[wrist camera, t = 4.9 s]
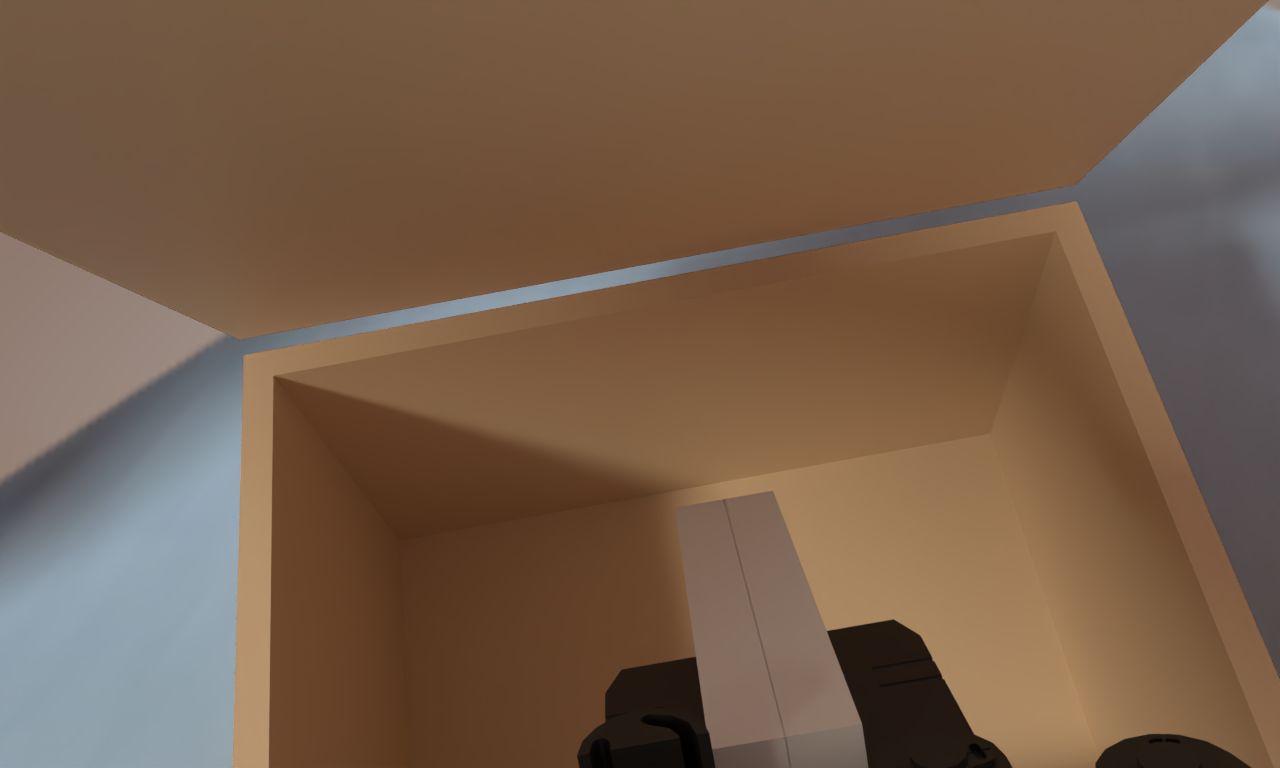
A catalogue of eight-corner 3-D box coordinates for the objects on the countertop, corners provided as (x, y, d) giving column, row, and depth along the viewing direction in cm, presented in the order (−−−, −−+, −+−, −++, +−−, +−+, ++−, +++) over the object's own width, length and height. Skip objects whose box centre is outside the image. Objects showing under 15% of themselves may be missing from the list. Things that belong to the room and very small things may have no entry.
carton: (1203, 996, 32) (1403, 970, 21) (404, 1131, 32) (221, 1170, 22) (1003, 414, 41) (1075, 198, 31) (380, 527, 41) (243, 351, 31)
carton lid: (1612, -329, 13) (1590, -395, 13) (-384, 59, 13) (-388, -9, 13) (1075, 184, 30) (1068, 155, 30) (239, 339, 31) (235, 309, 31)
